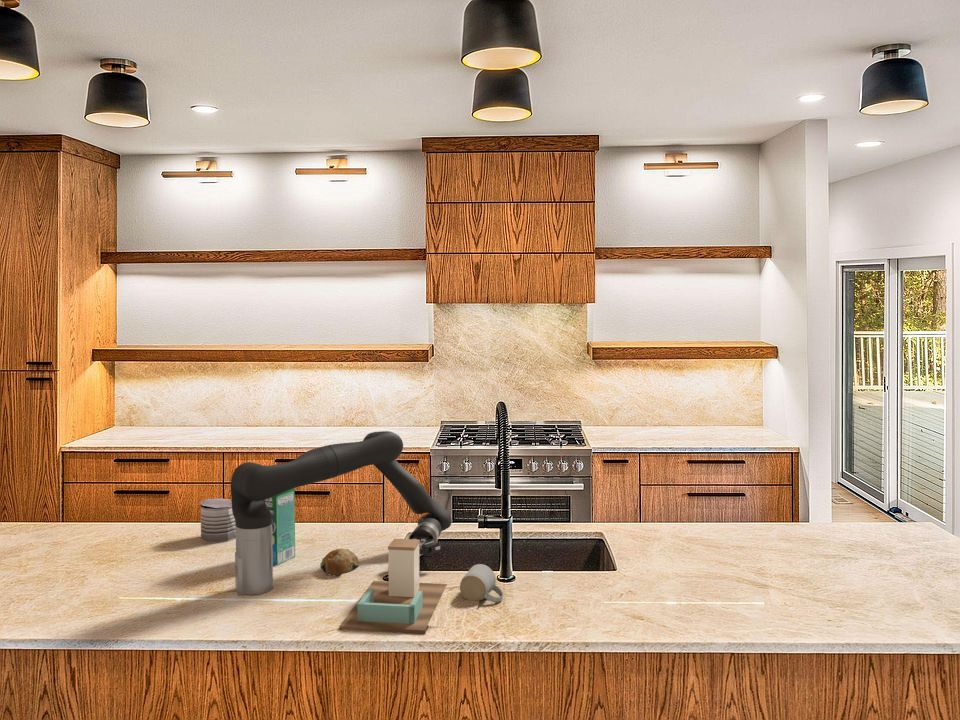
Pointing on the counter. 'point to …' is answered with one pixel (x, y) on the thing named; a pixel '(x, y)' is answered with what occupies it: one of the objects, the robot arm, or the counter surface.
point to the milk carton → (282, 525)
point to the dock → (389, 609)
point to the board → (381, 595)
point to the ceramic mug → (480, 584)
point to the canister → (403, 567)
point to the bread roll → (339, 562)
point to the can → (217, 521)
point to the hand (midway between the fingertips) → (412, 556)
